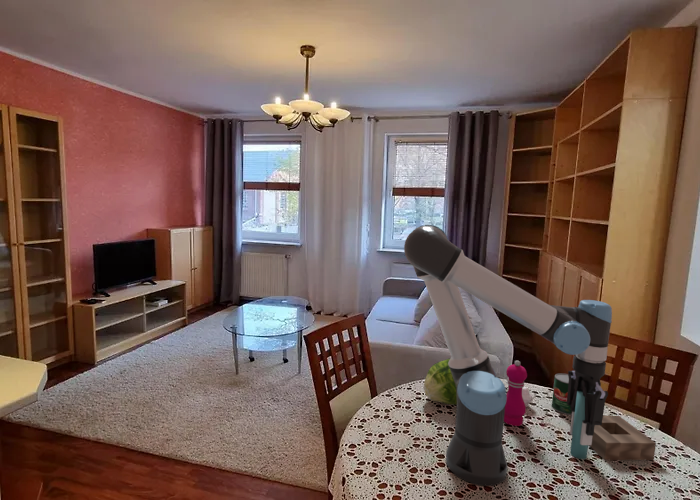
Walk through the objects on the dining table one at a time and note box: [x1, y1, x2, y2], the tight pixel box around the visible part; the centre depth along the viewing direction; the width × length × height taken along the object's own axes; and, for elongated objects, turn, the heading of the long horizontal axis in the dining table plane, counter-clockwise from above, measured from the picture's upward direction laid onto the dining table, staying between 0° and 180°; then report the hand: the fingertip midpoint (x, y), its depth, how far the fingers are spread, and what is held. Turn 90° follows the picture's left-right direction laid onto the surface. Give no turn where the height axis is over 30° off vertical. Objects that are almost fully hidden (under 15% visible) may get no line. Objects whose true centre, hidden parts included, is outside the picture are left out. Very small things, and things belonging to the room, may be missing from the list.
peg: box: [569, 391, 590, 460], centre depth 108 cm, size 4×4×18 cm
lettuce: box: [423, 357, 457, 406], centre depth 136 cm, size 16×21×15 cm
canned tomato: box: [551, 373, 572, 416], centre depth 133 cm, size 8×8×11 cm
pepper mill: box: [504, 360, 528, 427], centre depth 124 cm, size 7×7×20 cm
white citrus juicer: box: [522, 385, 533, 408], centre depth 135 cm, size 6×6×7 cm
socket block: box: [588, 415, 657, 461], centre depth 114 cm, size 14×14×5 cm
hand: (580, 439), depth 108 cm, fingers closed on peg, 4 cm apart
